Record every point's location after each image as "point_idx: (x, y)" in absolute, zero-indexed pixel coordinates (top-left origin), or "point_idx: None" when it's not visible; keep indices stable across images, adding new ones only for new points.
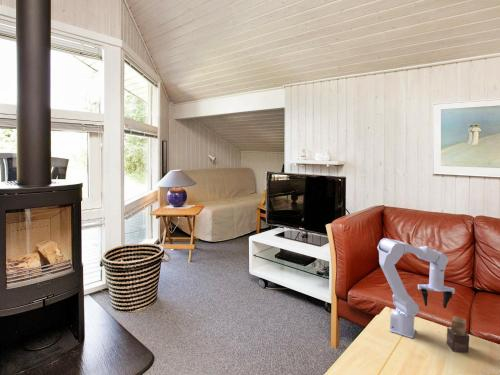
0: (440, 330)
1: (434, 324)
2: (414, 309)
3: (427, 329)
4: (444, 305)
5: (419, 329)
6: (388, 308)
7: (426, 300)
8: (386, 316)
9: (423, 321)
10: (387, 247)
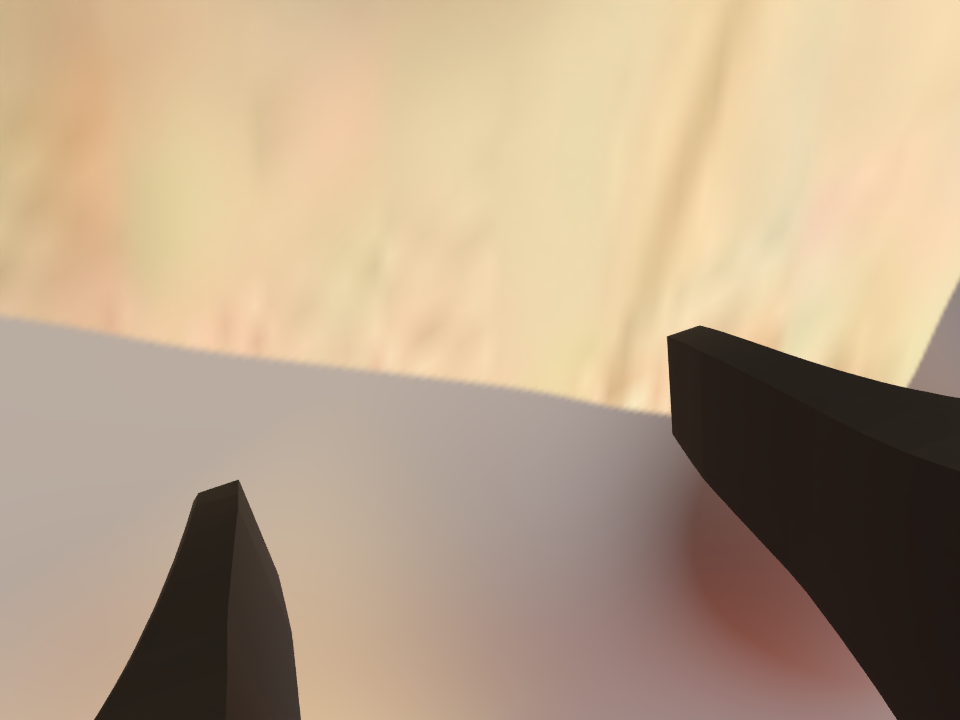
0: (240, 188)
1: (341, 343)
2: None
3: (444, 100)
4: (242, 528)
5: (566, 24)
6: None
7: (797, 387)
8: (953, 192)
9: (495, 341)
10: None
